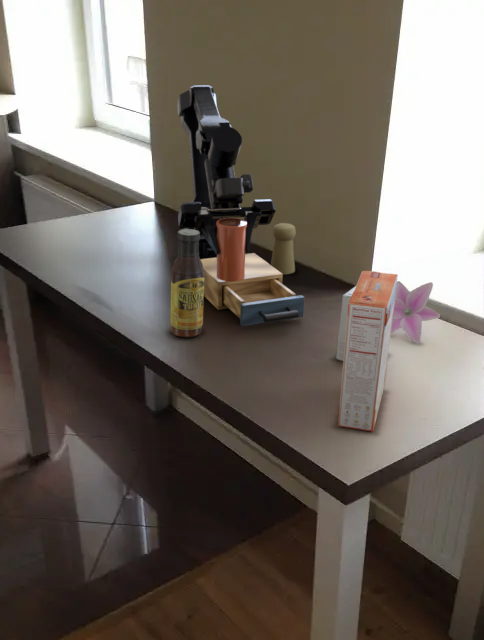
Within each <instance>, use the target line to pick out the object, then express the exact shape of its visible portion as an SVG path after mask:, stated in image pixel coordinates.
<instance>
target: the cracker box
mask: <svg viewBox="0 0 484 640" xmlns="http://www.w3.org/2000/svg"><path fill="white" fill-rule="evenodd" d="M398 277H399V276H398V274H397V273H389V272H388V273H387V272H379V271H373V270H362V271H361V273H360V275H359V278H358V281H357V283H356V285H355V286H356V287H355V286H354V287H355V290H354V292H353V294H352V296H351V299H350V301H349V304H348V315H347V326H346V339H345V350H344V361H343V362H342V374H341V384H340V395H339V396H340V398H339V410H338V418H337V419H338V422H337V426H338V427H340V428H347V429H353V430H360V431H366V432H374V430H375V427H376V423H377V419H378V415H379V411H380V407H381V402H382V398H383V395H384V391H385V384H386V383H385V382H386V376H387V375H386V374H387V368H388V367H387V366H388V358H389V351H390V350H389V349H390V343H391V335H392V333H391V327H392V319H393V311H394V303H395V295H396V286H397V282H398Z"/></svg>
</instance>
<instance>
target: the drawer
mask: <svg viewBox="0 0 484 640" xmlns="http://www.w3.org/2000/svg"><path fill="white" fill-rule="evenodd" d="M222 302H223V303H224V304H225V305H226V306H227V307H228V310H230V311H231V312H232V313H233V314H234V315H235V316H236V317H237V318H238V319H239V325H241V327H246V326H252V325H259V324H265V323H272V322H279V321H285V320H292V319H297V318H303V317H304V312H305V311H304V309H305V296H304V295H302V294H300V295H296V293H295V292H294V291H292V290H291V289H290V288H288V287H287V286H286V285H284V284H283V282H282V283H280V282H279V281H278V280H276V279H267V280H259V281H252V282H244V283H236V284H229V285H222Z"/></svg>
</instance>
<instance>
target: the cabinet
mask: <svg viewBox="0 0 484 640" xmlns="http://www.w3.org/2000/svg"><path fill="white" fill-rule="evenodd" d="M200 260H201V262H202V264H203V272H204V298H205V299H206V300H208V302H210V304H211V305H212V306H214V308H216V310H217V311H222V310H229V308H228V307H227V306H226V305H225V304H224V303H223V302H222V285H229V284H236V283H244V282H252V281H259V280H267V279H276V280H278V281H279V282H280V283H282V284H283V278H284V277H283V276H284V274H282V273H281V272H279V271H278V270H277V269H275V268H274V267H272V266H271V263H269V262H267V261H266V260H265V259H263V258H262V257H260V256H259V255H257V254H256V253H255V252H252V253H245V277H244V279H242V280H240V281H233V282H230V281H223V280H220V279H218V278H217V257H216V258H208V259H200Z"/></svg>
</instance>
